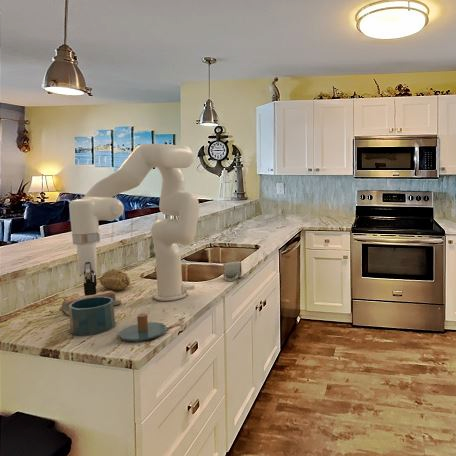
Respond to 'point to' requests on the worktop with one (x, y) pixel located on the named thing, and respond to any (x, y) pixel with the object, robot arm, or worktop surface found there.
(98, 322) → the crock
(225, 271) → the ceramic mug
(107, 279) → the brown rounded lump
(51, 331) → the worktop surface
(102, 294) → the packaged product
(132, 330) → the crock lid
